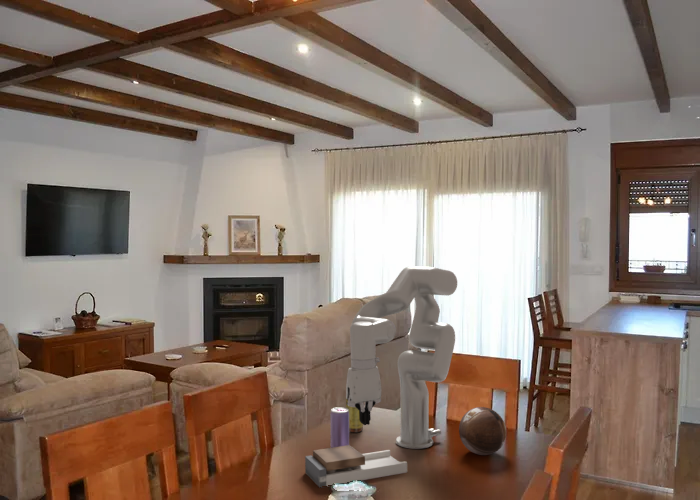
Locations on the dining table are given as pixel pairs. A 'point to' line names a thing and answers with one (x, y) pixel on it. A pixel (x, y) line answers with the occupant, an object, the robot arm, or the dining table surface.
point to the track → (373, 468)
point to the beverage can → (339, 427)
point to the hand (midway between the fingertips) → (365, 423)
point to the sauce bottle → (354, 419)
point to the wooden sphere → (482, 431)
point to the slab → (339, 458)
